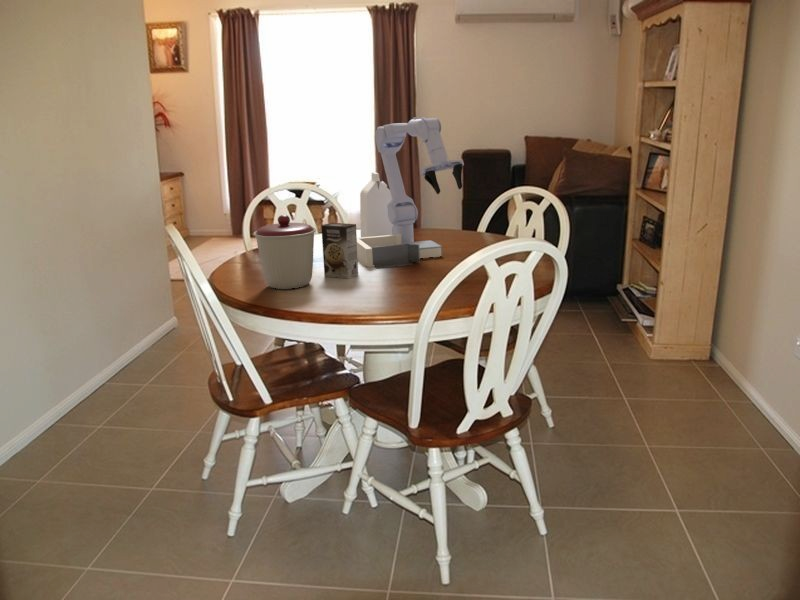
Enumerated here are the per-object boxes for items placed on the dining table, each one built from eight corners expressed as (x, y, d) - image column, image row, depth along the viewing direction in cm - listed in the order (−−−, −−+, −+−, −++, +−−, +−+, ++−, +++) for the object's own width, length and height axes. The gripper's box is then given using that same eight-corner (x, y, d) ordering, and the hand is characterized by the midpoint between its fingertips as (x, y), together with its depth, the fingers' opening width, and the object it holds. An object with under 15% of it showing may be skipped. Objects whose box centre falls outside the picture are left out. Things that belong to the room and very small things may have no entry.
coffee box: (323, 276, 221) (320, 225, 217) (334, 272, 227) (331, 222, 222) (348, 279, 217) (345, 226, 213) (359, 274, 222) (356, 223, 218)
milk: (360, 239, 282) (357, 172, 275) (388, 236, 284) (385, 170, 277) (367, 244, 270) (363, 175, 263) (396, 241, 273) (393, 173, 266)
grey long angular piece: (371, 265, 234) (370, 247, 233) (417, 260, 238) (416, 242, 237) (375, 268, 229) (374, 250, 227) (422, 263, 233) (421, 245, 231)
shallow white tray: (352, 254, 252) (351, 237, 251) (401, 250, 257) (400, 233, 255) (367, 267, 232) (366, 249, 230) (419, 262, 236) (418, 244, 235)
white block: (407, 253, 252) (406, 242, 251) (431, 251, 254) (430, 240, 253) (416, 260, 241) (416, 248, 240) (442, 257, 243) (441, 246, 242)
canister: (246, 287, 211) (239, 217, 206) (293, 275, 224) (288, 209, 219) (284, 296, 200) (278, 222, 194) (332, 283, 212) (327, 213, 207)
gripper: (418, 151, 227) (431, 190, 224) (460, 142, 230) (473, 180, 228) (414, 160, 234) (426, 198, 231) (455, 152, 237) (467, 189, 235)
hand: (449, 190), depth 230 cm, fingers open, 7 cm apart
